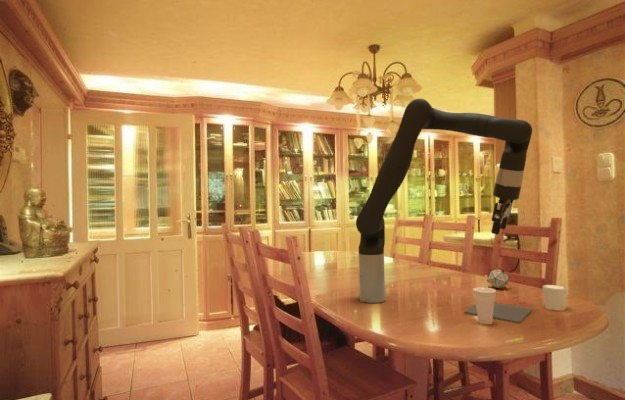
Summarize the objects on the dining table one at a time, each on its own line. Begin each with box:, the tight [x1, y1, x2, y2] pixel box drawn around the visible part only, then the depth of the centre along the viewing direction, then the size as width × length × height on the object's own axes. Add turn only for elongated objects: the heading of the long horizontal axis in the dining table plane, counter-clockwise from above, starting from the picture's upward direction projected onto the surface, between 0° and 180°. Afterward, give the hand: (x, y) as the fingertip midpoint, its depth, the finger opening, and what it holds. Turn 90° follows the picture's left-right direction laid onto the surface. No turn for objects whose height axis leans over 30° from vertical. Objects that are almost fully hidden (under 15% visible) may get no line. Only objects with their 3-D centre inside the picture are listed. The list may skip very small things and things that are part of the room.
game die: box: [487, 267, 512, 291], centre depth 148 cm, size 9×8×10 cm
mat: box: [463, 302, 533, 324], centre depth 118 cm, size 16×16×1 cm
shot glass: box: [542, 284, 568, 312], centre depth 121 cm, size 7×7×7 cm
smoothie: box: [472, 274, 497, 325], centre depth 109 cm, size 6×6×14 cm
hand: (498, 231), depth 122 cm, fingers open, 8 cm apart
